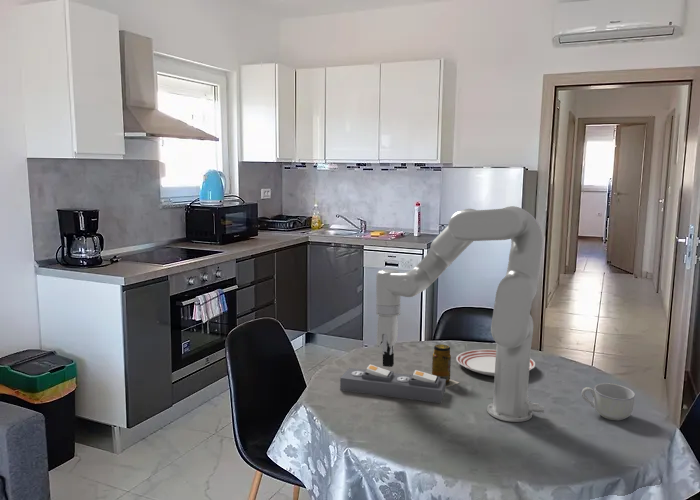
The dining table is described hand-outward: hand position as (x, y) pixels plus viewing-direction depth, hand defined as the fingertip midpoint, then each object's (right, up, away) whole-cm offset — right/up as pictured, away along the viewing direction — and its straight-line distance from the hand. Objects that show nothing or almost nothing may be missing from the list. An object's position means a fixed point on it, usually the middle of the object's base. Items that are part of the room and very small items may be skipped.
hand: (388, 365), depth 183 cm
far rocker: (-3, -2, +1) cm, 4 cm away
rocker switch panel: (+1, -8, +1) cm, 8 cm away
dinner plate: (+40, -6, +24) cm, 47 cm away
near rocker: (+11, -3, -3) cm, 12 cm away
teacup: (+62, -12, -15) cm, 65 cm away
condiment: (+19, -7, +9) cm, 22 cm away
